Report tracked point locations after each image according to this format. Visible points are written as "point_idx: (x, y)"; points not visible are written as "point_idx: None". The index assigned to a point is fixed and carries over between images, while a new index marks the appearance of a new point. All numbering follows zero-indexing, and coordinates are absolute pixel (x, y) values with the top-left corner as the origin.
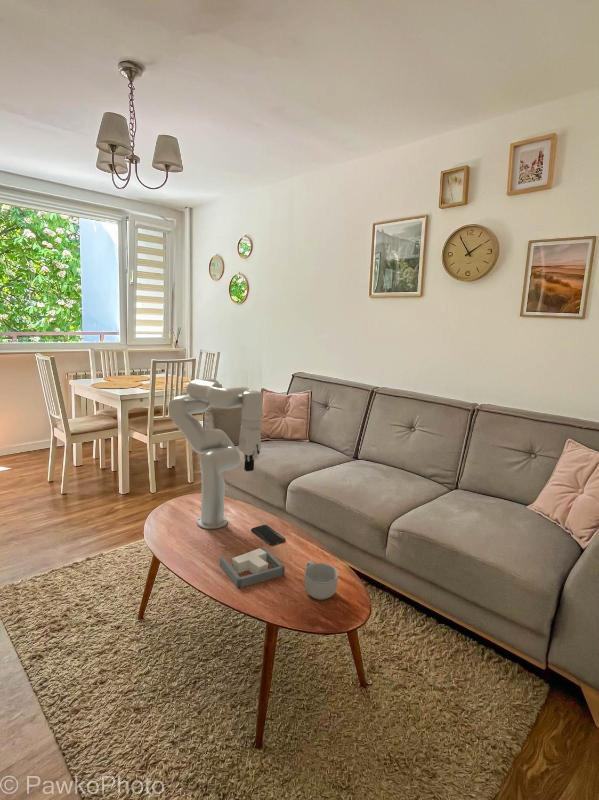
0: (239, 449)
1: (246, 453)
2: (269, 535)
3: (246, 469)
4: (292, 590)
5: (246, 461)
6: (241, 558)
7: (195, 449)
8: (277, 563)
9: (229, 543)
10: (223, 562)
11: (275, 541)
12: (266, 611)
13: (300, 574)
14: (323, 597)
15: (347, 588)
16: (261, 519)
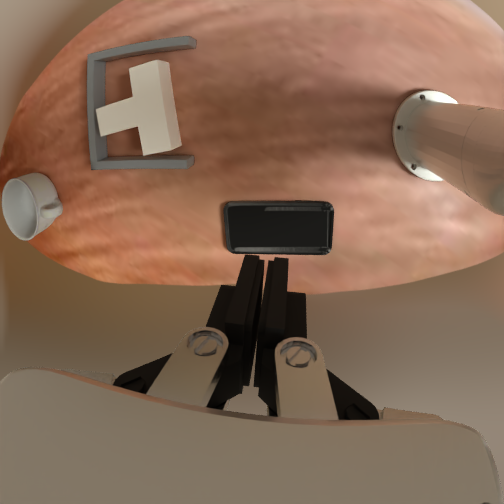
0: (434, 427)
1: (69, 394)
2: (270, 228)
3: (243, 265)
4: (61, 155)
5: (227, 322)
6: (145, 81)
7: None
8: (107, 161)
9: (293, 108)
10: (166, 38)
11: (232, 223)
12: (37, 90)
13: (95, 196)
14: (23, 189)
15: (50, 243)
16: (368, 263)
